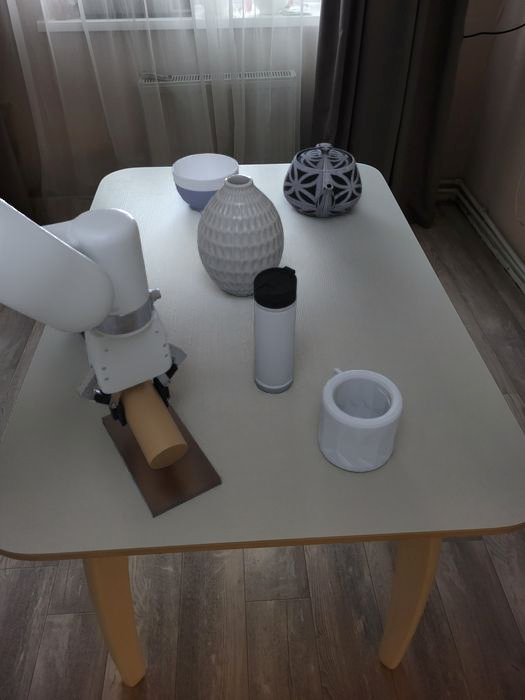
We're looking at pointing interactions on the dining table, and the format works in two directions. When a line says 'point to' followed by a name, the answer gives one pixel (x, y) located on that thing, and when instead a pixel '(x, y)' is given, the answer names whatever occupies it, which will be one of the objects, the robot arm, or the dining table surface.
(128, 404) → the paper roll
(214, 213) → the vase
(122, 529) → the dining table surface
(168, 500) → the holder
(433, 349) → the dining table surface
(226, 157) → the bowl
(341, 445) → the mug
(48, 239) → the robot arm
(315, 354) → the dining table surface
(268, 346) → the travel mug
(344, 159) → the teapot
